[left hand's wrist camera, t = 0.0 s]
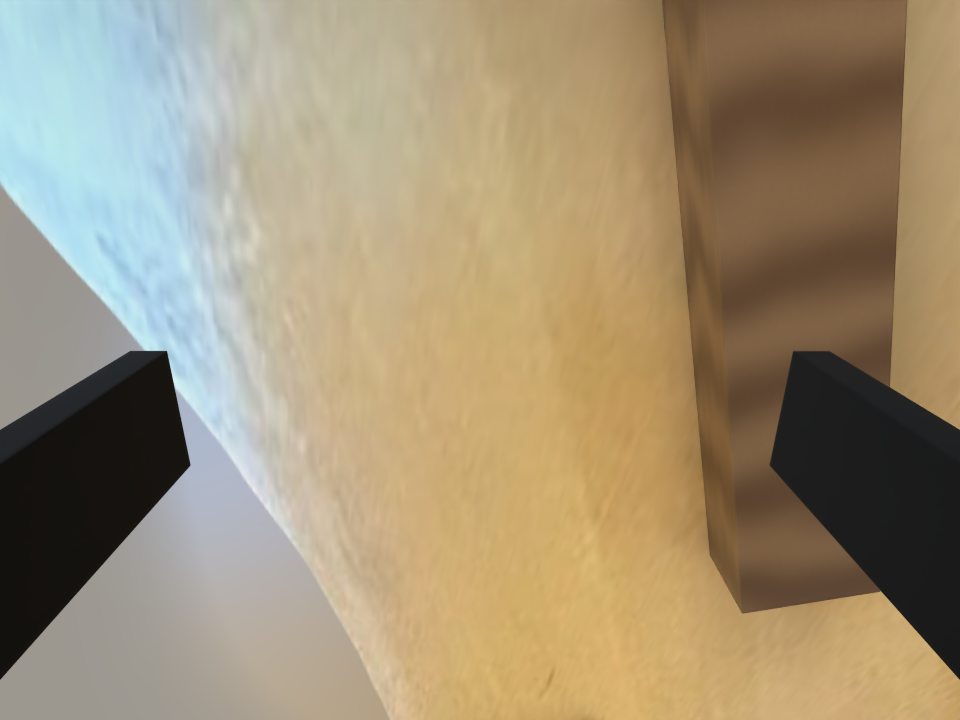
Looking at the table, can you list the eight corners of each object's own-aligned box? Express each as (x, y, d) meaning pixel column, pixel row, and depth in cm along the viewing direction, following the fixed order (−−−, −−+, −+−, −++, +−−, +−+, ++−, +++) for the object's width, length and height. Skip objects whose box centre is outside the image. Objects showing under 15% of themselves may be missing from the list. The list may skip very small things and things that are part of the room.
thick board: (643, -210, 30) (683, -294, 24) (835, -261, 30) (924, -361, 24) (709, 555, 48) (742, 614, 42) (830, 535, 47) (880, 592, 42)
